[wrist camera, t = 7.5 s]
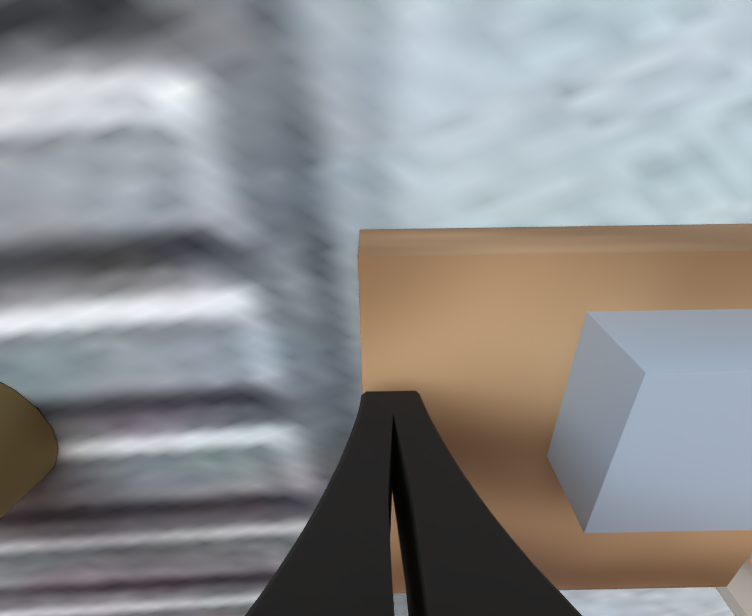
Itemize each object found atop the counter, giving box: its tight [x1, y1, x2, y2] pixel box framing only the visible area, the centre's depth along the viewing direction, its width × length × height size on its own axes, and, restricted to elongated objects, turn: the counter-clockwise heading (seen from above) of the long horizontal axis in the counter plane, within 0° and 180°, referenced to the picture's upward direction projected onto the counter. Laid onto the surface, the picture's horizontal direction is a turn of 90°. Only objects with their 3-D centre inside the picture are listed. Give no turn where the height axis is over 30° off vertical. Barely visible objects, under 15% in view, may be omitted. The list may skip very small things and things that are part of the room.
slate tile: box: [547, 309, 752, 533], centre depth 10 cm, size 5×5×2 cm
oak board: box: [358, 224, 752, 593], centre depth 13 cm, size 14×14×2 cm
